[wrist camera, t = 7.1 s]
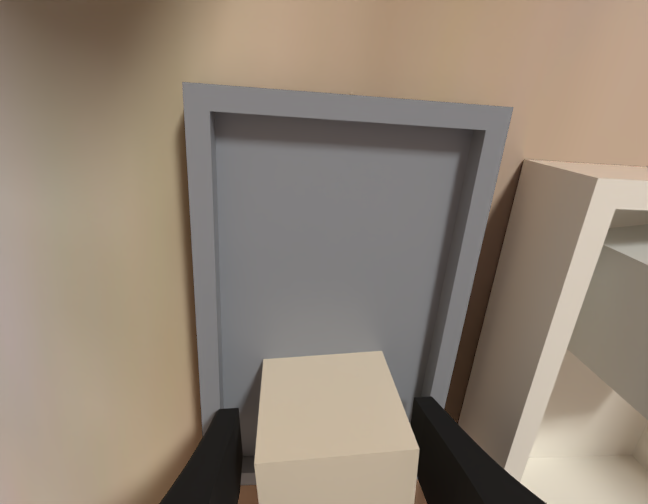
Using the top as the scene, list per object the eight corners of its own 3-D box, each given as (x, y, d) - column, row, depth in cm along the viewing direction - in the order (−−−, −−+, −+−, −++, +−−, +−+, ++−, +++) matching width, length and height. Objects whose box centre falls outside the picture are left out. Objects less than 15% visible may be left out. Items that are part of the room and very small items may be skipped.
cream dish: (766, 174, 13) (901, 195, 10) (631, 456, 17) (698, 526, 14) (524, 159, 12) (598, 178, 9) (448, 462, 16) (482, 537, 13)
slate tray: (490, 106, 11) (513, 107, 10) (418, 452, 16) (428, 478, 15) (193, 83, 10) (182, 82, 9) (211, 457, 15) (205, 486, 14)
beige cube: (381, 350, 13) (419, 448, 10) (378, 439, 15) (409, 554, 11) (263, 359, 13) (254, 464, 9) (271, 449, 14) (266, 570, 11)
